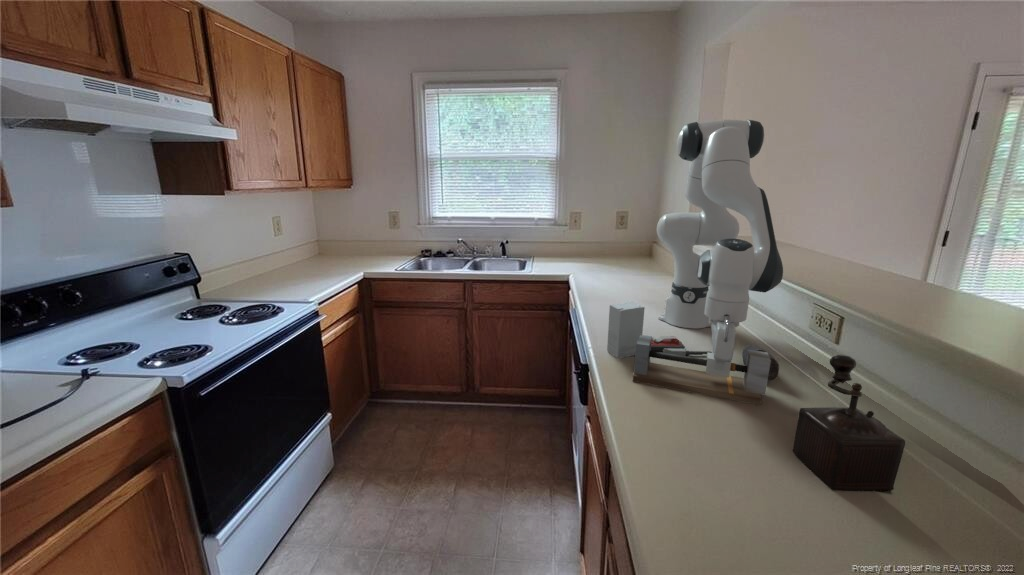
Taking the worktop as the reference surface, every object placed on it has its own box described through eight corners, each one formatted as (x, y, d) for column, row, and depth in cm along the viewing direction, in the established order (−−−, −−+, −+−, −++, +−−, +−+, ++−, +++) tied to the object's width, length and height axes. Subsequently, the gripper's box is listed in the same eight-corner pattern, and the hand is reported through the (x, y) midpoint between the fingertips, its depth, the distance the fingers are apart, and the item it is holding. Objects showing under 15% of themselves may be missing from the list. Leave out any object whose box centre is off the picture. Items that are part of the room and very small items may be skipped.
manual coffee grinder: (899, 492, 67) (928, 391, 62) (831, 491, 67) (854, 391, 62) (828, 435, 82) (847, 351, 77) (773, 435, 82) (788, 350, 77)
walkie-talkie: (643, 358, 119) (713, 359, 118) (644, 343, 118) (715, 344, 117) (635, 346, 127) (700, 347, 127) (636, 332, 126) (701, 333, 126)
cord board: (637, 365, 113) (640, 331, 110) (759, 386, 101) (766, 348, 99) (632, 381, 104) (635, 343, 101) (765, 406, 92) (772, 364, 90)
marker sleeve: (705, 367, 103) (707, 352, 102) (727, 370, 101) (730, 355, 100) (705, 373, 99) (707, 358, 98) (728, 377, 97) (731, 362, 96)
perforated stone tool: (734, 359, 117) (738, 336, 115) (754, 361, 116) (758, 338, 114) (755, 384, 103) (760, 358, 101) (778, 386, 102) (783, 360, 100)
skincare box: (629, 347, 125) (633, 300, 121) (641, 355, 119) (646, 306, 116) (605, 351, 122) (608, 303, 118) (617, 359, 117) (621, 309, 113)
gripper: (745, 324, 86) (736, 385, 89) (737, 300, 104) (730, 351, 107) (712, 320, 88) (704, 379, 91) (709, 297, 106) (703, 347, 110)
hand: (718, 364), depth 99 cm, fingers closed on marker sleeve, 4 cm apart
